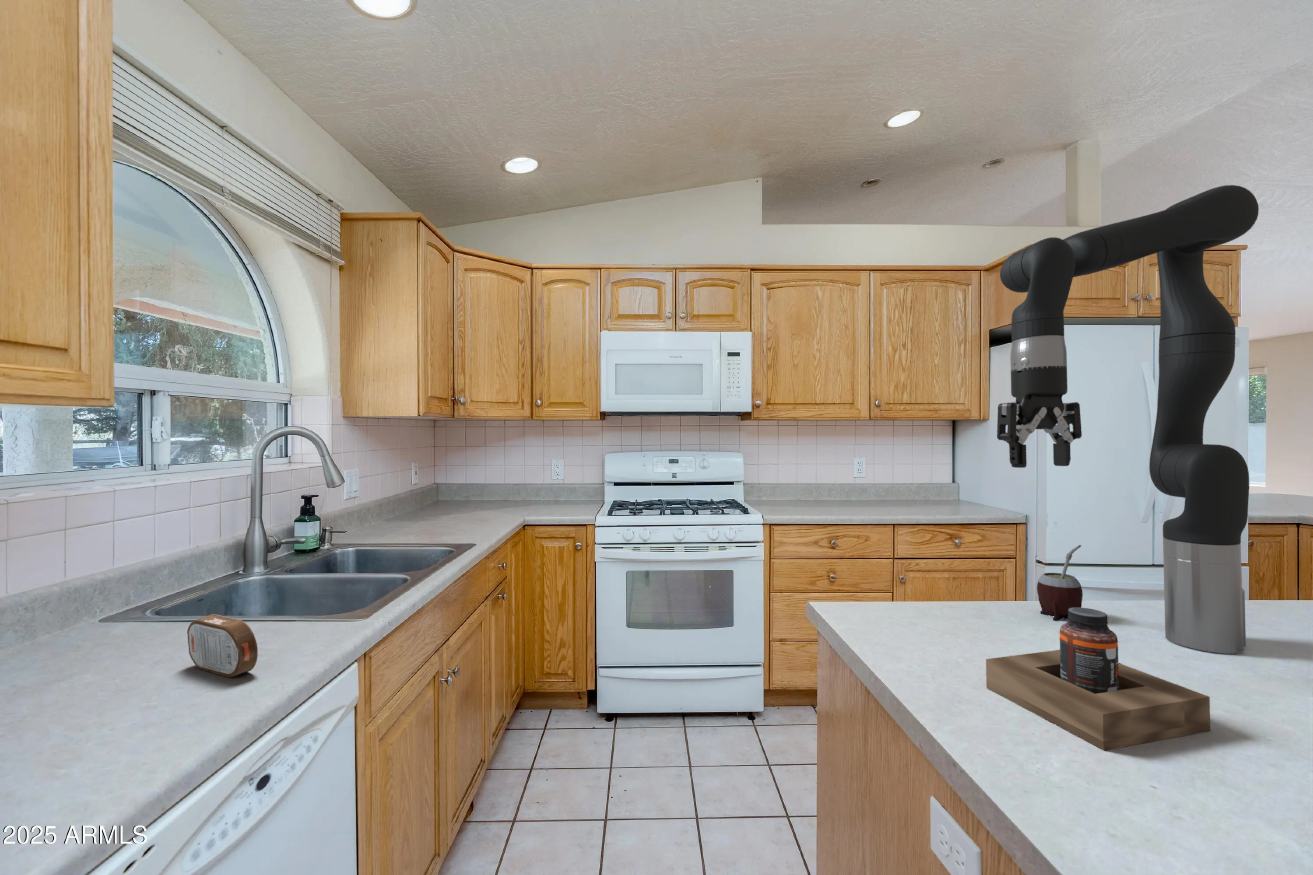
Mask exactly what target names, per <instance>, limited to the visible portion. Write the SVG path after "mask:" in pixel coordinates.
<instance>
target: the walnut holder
mask: <svg viewBox="0 0 1313 875" xmlns="http://www.w3.org/2000/svg"><path fill="white" fill-rule="evenodd" d="M1118 667H1119V668H1118V671H1119V690H1118V691H1111V692H1104V693H1098V694H1094V693H1092V692H1089V691H1087V690H1085V689H1083V688H1080V687H1078V686H1076V685H1074V684H1071V683H1069V682H1067V681H1065V680H1062V679H1061V670H1060V649H1055V650H1048V651H1047V650H1046V651H1040V652H1032V653H1025V654H1024V653H1022V654H1015V655H1008V656H999V657H992V658H986V659H985V672H986V673H985V674H986V675H985V676H986V682H985V683H986V689H988V690H990V691H992V692H993V693H995V694H997V695H999V696H1001V697H1003V698H1005V699H1006V700H1009V701H1011V702H1013V703H1014V704H1016V705H1018V706H1020V707H1022V708H1023V709H1026V710H1027V711H1029V712H1031V713H1033V714H1035V715H1037V716H1038V717H1040V718H1042V719H1044V720H1046V721H1048V722H1050V723H1052V724H1053V725H1055V724H1056V726H1057V727H1059V728H1061V729H1063V730H1065V731H1067V733H1070V734H1072V735H1074V736H1076V737H1078V738H1080V739H1081V740H1083V741H1085V742H1087V743H1089V744H1091V745H1093V746H1095V747H1097V748H1098V749H1100V750H1102V751H1107V750H1112V749H1119V748H1124V747H1128V746H1135V745H1141V744H1145V743H1151V742H1155V741H1161V740H1162V741H1163V740H1167V739H1173V738H1179V737H1183V736H1184V737H1185V736H1189V735H1195V734H1201V733H1205V732H1211V700H1210V696H1208V695H1206V694H1203V693H1200V692H1198V691H1196V690H1192V689H1190V688H1187V687H1183V686H1181V685H1179V684H1176V683H1174V682H1171V681H1169V680H1165V679H1163V678H1161V677H1158V676H1155V675H1153V674H1150V673H1147V672H1144V671H1142V670H1139V669H1136V668H1134V667H1131V666H1128V665H1125V664H1123V663H1121V662H1118Z"/></svg>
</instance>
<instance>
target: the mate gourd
mask: <svg viewBox="0 0 1313 875" xmlns="http://www.w3.org/2000/svg"><path fill="white" fill-rule="evenodd" d="M1081 547H1082V545H1081V544H1079V545H1077V546H1075V547H1073V548H1072V549H1070V551H1069V552H1068V553H1067V554H1066V556H1065V561H1064V565H1063V569H1062V572H1061V573H1060V572H1045V573H1043V574H1041V575H1040V576H1039V578H1038V579H1037V580H1038V581H1037V583H1036V592H1037V596H1038V603H1039V606H1040V607H1041V610H1040V611H1039V612H1040V614H1041V615H1043V616H1048V615H1050V616H1049V617H1052V621H1055V622H1059V621H1060V620H1062V619H1064V618H1065V619H1064V620H1069V619H1068V609H1070V608H1076V607H1080V608H1082V606H1083V604H1082V603H1083V595H1084V594H1083V588H1082V585H1081V583H1080V581H1079V580H1078V579H1077V578H1076V577H1075V576H1073V575H1071V574H1067V570H1068V567H1069V563H1070V560H1072V557H1073V554H1074V553H1075V552H1076V551H1077V550H1078V549H1080V548H1081ZM1053 616H1054V617H1053ZM1061 618H1062V619H1061Z"/></svg>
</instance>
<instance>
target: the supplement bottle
mask: <svg viewBox="0 0 1313 875" xmlns="http://www.w3.org/2000/svg"><path fill="white" fill-rule="evenodd" d="M1067 620H1068V621H1067V622H1066V623H1063V624H1062V625H1061V626H1060V628H1059V650H1060V670H1061V679H1062V680H1065V681H1067V682H1069V683H1071V684H1074V685H1076V686H1078V687H1080V688H1083V689H1085V690H1087V691H1089V692H1092V693H1094V694H1098V693H1104V692H1111V691H1118V690H1119V671H1118V668H1119V667H1118V663H1119V639H1118V636H1117V634H1116V633H1115V632H1114V631H1113V630H1111V629H1110V628H1109V625H1108V623H1109V621H1108V620H1109V619H1108V614H1107V613H1106V612H1104V611H1102V610H1098V609H1094V608H1088V607H1081V608H1080V607H1076V608H1070V609H1068V619H1067Z"/></svg>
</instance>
